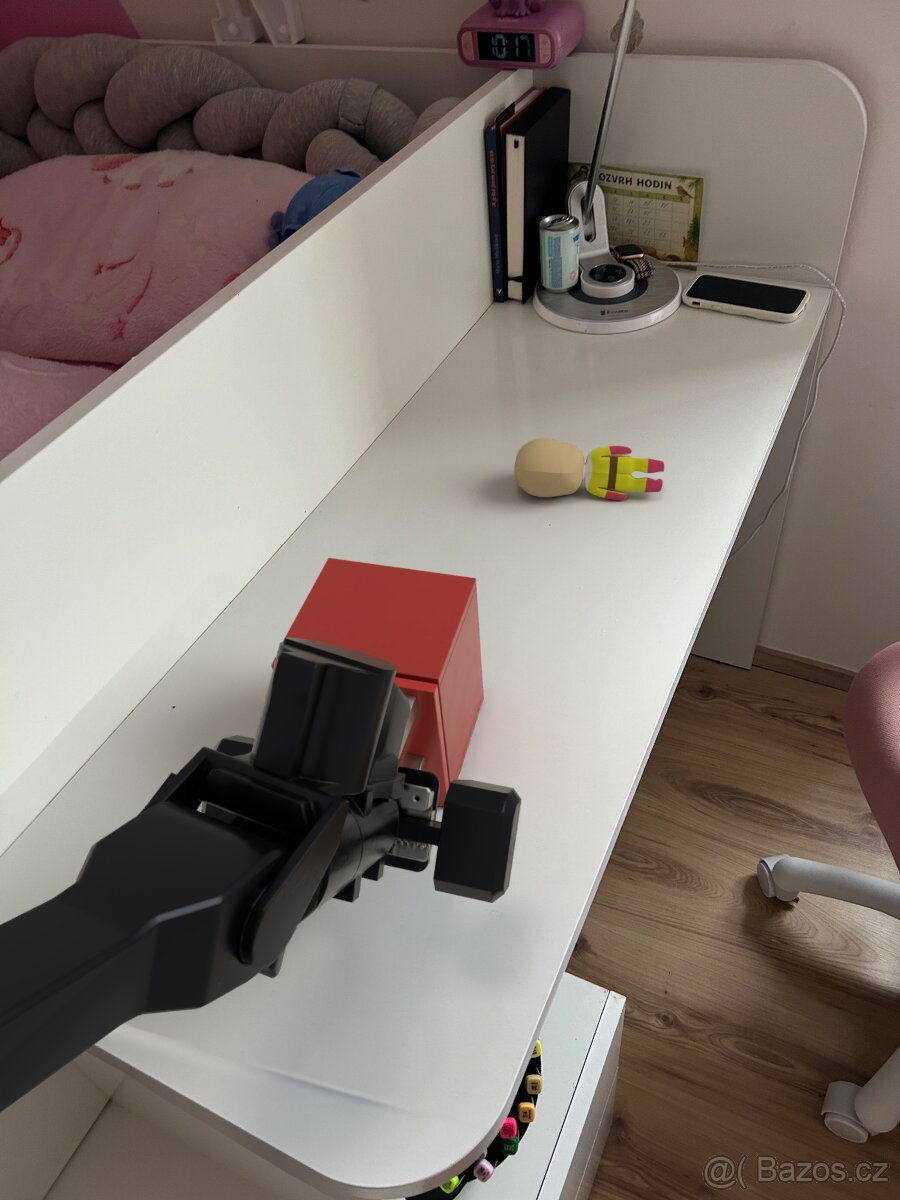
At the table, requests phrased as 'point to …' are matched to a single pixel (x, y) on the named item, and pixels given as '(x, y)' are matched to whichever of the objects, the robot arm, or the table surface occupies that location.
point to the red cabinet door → (423, 732)
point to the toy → (582, 470)
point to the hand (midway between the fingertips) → (398, 789)
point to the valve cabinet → (406, 633)
